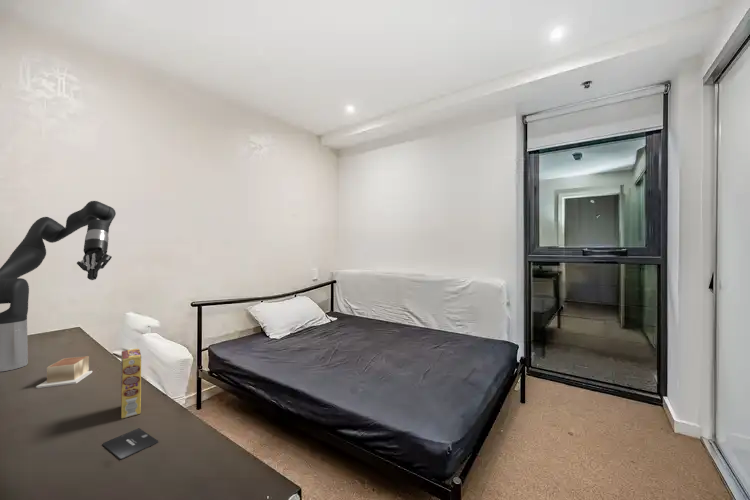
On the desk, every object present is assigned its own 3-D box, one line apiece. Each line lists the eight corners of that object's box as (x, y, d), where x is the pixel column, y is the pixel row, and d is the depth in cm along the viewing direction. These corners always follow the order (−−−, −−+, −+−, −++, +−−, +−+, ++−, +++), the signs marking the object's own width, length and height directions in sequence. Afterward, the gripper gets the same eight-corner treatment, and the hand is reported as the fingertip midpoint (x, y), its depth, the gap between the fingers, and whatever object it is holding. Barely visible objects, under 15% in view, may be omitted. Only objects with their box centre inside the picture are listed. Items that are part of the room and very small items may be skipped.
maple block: (63, 358, 110) (46, 367, 102) (88, 355, 112) (74, 364, 104) (64, 372, 110) (47, 382, 102) (88, 370, 112) (74, 379, 104)
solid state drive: (139, 430, 75) (139, 427, 75) (158, 444, 70) (158, 441, 70) (102, 446, 69) (102, 443, 69) (120, 462, 64) (120, 459, 64)
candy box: (142, 413, 82) (141, 355, 82) (121, 419, 80) (120, 359, 80) (140, 401, 89) (139, 347, 89) (121, 406, 87) (120, 350, 87)
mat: (56, 376, 109) (56, 374, 109) (92, 372, 112) (92, 370, 112) (36, 388, 99) (36, 386, 99) (76, 383, 102) (76, 381, 102)
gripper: (119, 242, 138) (116, 277, 131) (88, 250, 137) (83, 286, 130) (104, 234, 131) (100, 271, 124) (72, 242, 130) (66, 280, 123)
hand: (91, 279), depth 127 cm, fingers closed
